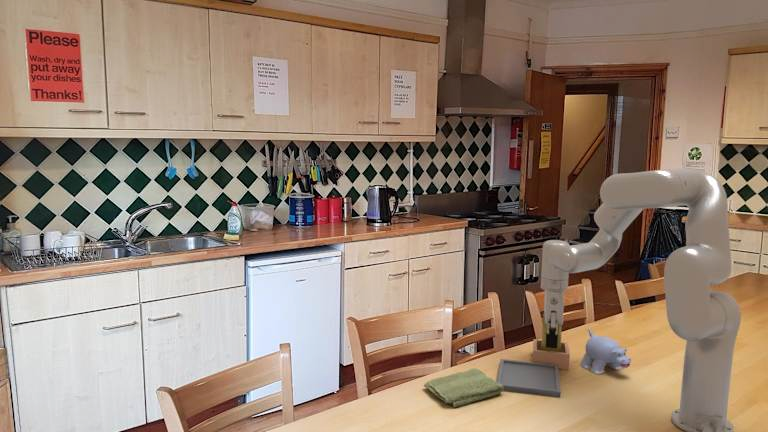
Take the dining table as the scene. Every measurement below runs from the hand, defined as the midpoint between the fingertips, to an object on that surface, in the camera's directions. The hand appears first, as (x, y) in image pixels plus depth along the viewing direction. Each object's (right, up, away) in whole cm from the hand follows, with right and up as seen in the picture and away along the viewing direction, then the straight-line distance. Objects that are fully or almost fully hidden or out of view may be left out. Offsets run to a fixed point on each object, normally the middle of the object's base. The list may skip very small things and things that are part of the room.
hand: (551, 343), depth 172 cm
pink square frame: (0, -6, +1) cm, 5 cm away
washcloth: (-28, -8, -21) cm, 36 cm away
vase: (0, -6, +1) cm, 6 cm away
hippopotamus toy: (+14, -7, -4) cm, 16 cm away
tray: (-10, -7, -12) cm, 17 cm away
